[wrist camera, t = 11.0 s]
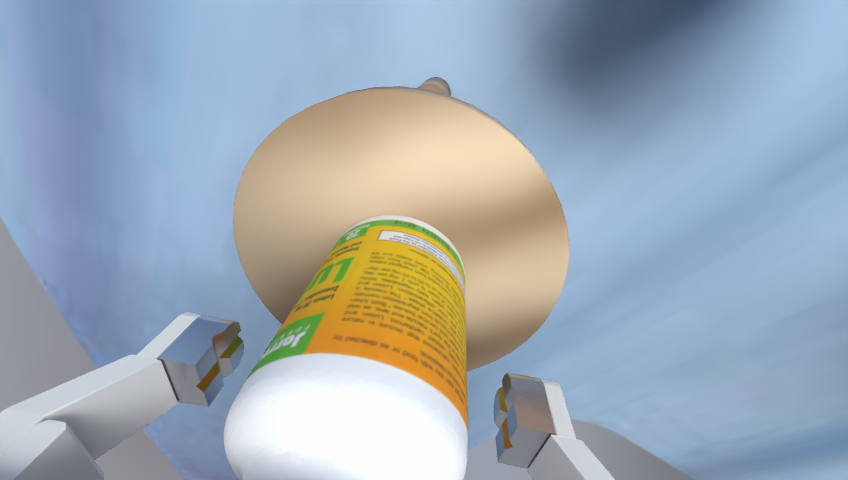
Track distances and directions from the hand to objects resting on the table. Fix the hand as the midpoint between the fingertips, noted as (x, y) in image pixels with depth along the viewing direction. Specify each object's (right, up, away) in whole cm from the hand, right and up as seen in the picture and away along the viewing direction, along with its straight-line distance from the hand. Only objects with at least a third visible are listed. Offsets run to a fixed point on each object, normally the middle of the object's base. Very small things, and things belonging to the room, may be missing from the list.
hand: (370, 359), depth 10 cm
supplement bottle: (+1, +2, +4) cm, 5 cm away
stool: (+1, +7, +13) cm, 15 cm away
